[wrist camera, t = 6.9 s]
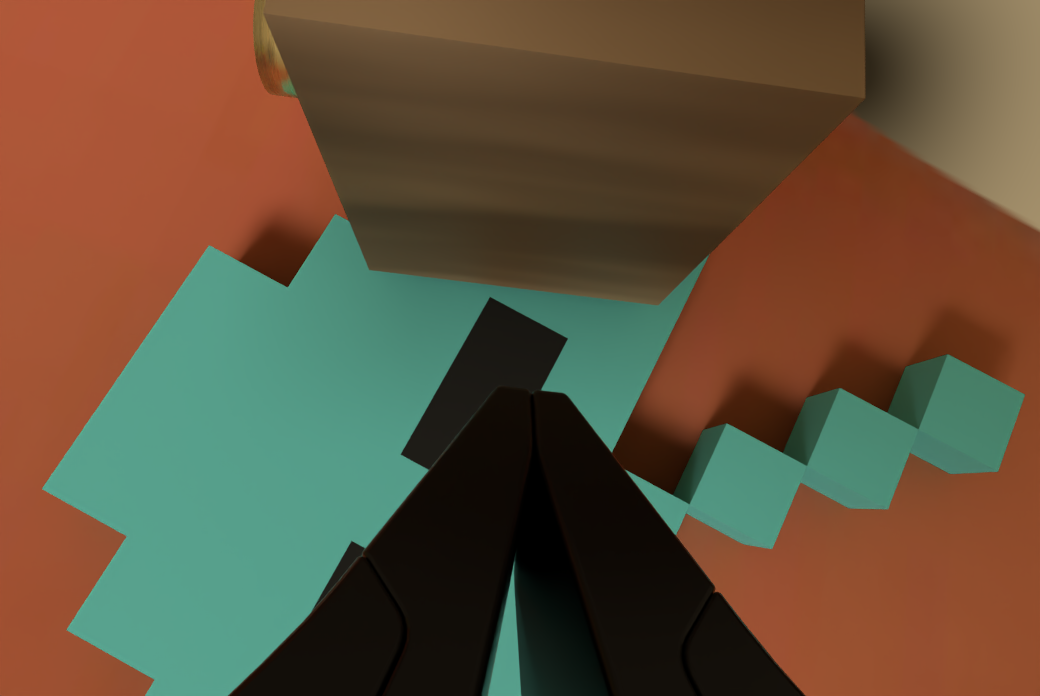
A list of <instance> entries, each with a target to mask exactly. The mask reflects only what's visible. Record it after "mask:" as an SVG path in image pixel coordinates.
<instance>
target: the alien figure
mask: <svg viewBox="0 0 1040 696" xmlns="http://www.w3.org/2000/svg"><path fill="white" fill-rule="evenodd" d="M708 256H709V255H708ZM708 256H707V257H706V258H705V259H704V260H703V261H702V262H701V263H700V264H699V265H698V266H697V267H696V268H695V269H694V270H693V271H692V272H691V273H690V274H689V275H688V276H687V277H686V278H685V279H684V280H683V281H682V282H681V283H680V284H679V285H678V286H677V287H676V288H675V289H674V290H673V291H672V292H671V293H670V294H669V295H668V296H667V297H666V298H665V299H664V300H663V301H662V302H661V303H660V304H659V305H650V304H642V303H634V302H625V301H617V300H609V299H601V298H593V297H585V296H577V295H568V294H560V293H552V292H544V291H536V290H528V289H519V288H511V287H503V286H495V285H487V284H479V283H471V282H462V281H454V280H446V279H438V278H430V277H422V276H413V275H405V274H397V273H389V272H381V271H373V270H369V268H368V266H367V263H366V261H365V259H364V256H363V254H362V251H361V249H360V246H359V244H358V242H357V239H356V237H355V234H354V232H353V230H352V227H351V225H350V222H349V221H347V220H345V219H344V218H342V217H340V216H338V215H336V214H335V215H334V217H333V218H332V220H331V221H330V223H329V225H328V226H327V228H326V229H325V231H324V232H323V234H322V235H321V237H320V238H319V240H318V242H317V243H316V245H315V246H314V248H313V249H312V251H311V252H310V254H309V255H308V257H307V259H306V260H305V262H304V263H303V265H302V266H301V268H300V269H299V271H298V272H297V274H296V276H295V277H294V279H293V280H292V282H291V283H290V285H289V286H288V288H287V287H286V286H284V285H282V284H280V283H278V282H276V281H274V280H273V279H271V278H269V277H267V276H265V275H263V274H261V273H260V272H258V271H256V270H254V269H252V268H250V267H249V266H247V265H245V264H243V263H241V262H239V261H237V260H236V259H234V258H232V257H230V256H228V255H226V254H224V253H223V252H221V251H219V250H217V249H215V248H213V247H211V246H210V245H209V246H208V248H207V249H206V251H205V252H204V254H203V255H202V257H201V258H200V260H199V261H198V262H197V264H196V265H195V267H194V268H193V270H192V271H191V273H190V274H189V276H188V277H187V278H186V280H185V281H184V283H183V284H182V286H181V287H180V289H179V290H178V292H177V293H176V294H175V296H174V297H173V299H172V300H171V302H170V303H169V305H168V306H167V308H166V309H165V310H164V312H163V313H162V315H161V316H160V318H159V319H158V321H157V322H156V324H155V325H154V326H153V328H152V329H151V331H150V332H149V334H148V335H147V337H146V338H145V340H144V341H143V342H142V344H141V345H140V347H139V348H138V350H137V351H136V353H135V354H134V356H133V357H132V358H131V360H130V361H129V363H128V364H127V366H126V367H125V369H124V370H123V372H122V373H121V374H120V376H119V377H118V379H117V380H116V382H115V383H114V385H113V386H112V388H111V389H110V391H109V392H108V393H107V395H106V396H105V398H104V399H103V401H102V402H101V404H100V405H99V407H98V408H97V409H96V411H95V412H94V414H93V415H92V417H91V418H90V420H89V421H88V423H87V424H86V425H85V427H84V428H83V430H82V431H81V433H80V434H79V436H78V437H77V439H76V440H75V441H74V443H73V444H72V446H71V447H70V449H69V450H68V452H67V453H66V455H65V456H64V457H63V459H62V460H61V462H60V463H59V465H58V466H57V468H56V469H55V471H54V472H53V473H52V475H51V476H50V478H49V479H48V481H47V482H46V484H45V485H44V487H43V488H42V489H43V490H45V491H47V492H48V493H50V494H52V495H54V496H56V497H57V498H59V499H61V500H63V501H65V502H66V503H68V504H70V505H72V506H73V507H75V508H77V509H79V510H81V511H82V512H84V513H86V514H88V515H90V516H91V517H93V518H95V519H97V520H99V521H100V522H102V523H104V524H106V525H108V526H109V527H111V528H113V529H115V530H117V531H118V532H120V533H122V534H124V535H126V536H127V537H126V539H125V540H124V542H123V543H122V545H121V546H120V548H119V549H118V551H117V553H116V554H115V556H114V557H113V559H112V560H111V562H110V563H109V565H108V567H107V568H106V570H105V571H104V573H103V574H102V576H101V577H100V579H99V580H98V582H97V584H96V585H95V587H94V588H93V590H92V591H91V593H90V594H89V596H88V597H87V599H86V601H85V602H84V604H83V605H82V607H81V608H80V610H79V611H78V613H77V614H76V616H75V618H74V619H73V621H72V622H71V624H70V625H69V627H68V628H67V631H69V632H71V633H73V634H75V635H76V636H78V637H80V638H82V639H83V640H85V641H87V642H89V643H90V644H92V645H94V646H96V647H98V648H99V649H101V650H103V651H105V652H106V653H108V654H110V655H112V656H114V657H115V658H117V659H119V660H121V661H122V662H124V663H126V664H128V665H130V666H131V667H133V668H135V669H137V670H138V671H140V672H142V673H144V674H145V675H147V676H149V677H151V678H153V679H154V682H153V684H152V685H151V687H150V689H149V690H148V692H147V694H146V695H145V696H228V695H229V694H230V693H231V692H232V691H233V690H234V689H235V688H236V687H237V686H238V685H239V684H240V683H241V682H243V681H244V680H245V679H246V678H247V677H248V676H249V675H250V674H251V673H252V672H253V671H254V670H255V669H256V668H257V667H258V666H259V665H260V664H261V663H262V662H263V661H264V660H265V659H266V658H267V657H268V656H269V655H270V654H271V653H272V652H273V651H274V650H275V649H276V648H277V647H278V646H279V645H280V644H281V643H282V642H283V641H284V640H285V639H286V638H287V637H288V636H289V635H290V634H291V633H292V632H293V631H294V630H295V629H296V628H297V627H298V626H299V625H300V624H301V623H302V622H303V621H304V620H305V619H306V617H307V616H308V615H309V614H310V613H311V612H312V611H313V609H314V608H315V607H316V606H317V605H318V604H319V603H320V601H321V600H322V599H323V598H324V597H325V596H326V595H327V593H328V592H329V591H330V590H331V589H332V588H333V586H334V585H335V584H336V583H337V582H338V581H339V579H340V578H341V577H342V576H343V574H344V573H345V572H346V571H347V570H348V568H349V567H350V566H351V565H352V563H353V562H354V561H355V560H356V558H357V557H359V556H362V552H363V550H364V549H365V548H366V547H367V545H368V544H369V543H370V542H371V540H372V539H373V538H374V537H375V536H376V534H377V533H378V532H379V531H380V529H381V528H382V527H383V526H384V524H385V523H386V522H387V521H388V520H389V518H390V517H391V516H392V515H393V513H394V512H395V511H396V510H397V508H398V507H399V506H400V505H401V504H402V502H403V501H404V500H405V499H406V497H407V496H408V495H409V494H410V492H411V491H412V490H413V489H414V488H415V486H416V485H417V484H418V483H419V481H420V480H421V479H422V478H423V476H424V475H425V474H426V473H427V472H428V470H429V469H430V468H431V467H432V465H433V464H434V463H435V462H436V460H437V459H438V458H439V457H440V456H441V454H442V453H443V452H444V451H445V449H446V448H447V447H448V446H449V444H450V443H451V442H452V441H453V440H454V438H455V437H456V436H457V435H458V433H459V432H460V431H461V430H462V428H463V427H464V426H465V425H466V424H467V422H468V421H469V420H470V419H471V417H472V416H473V415H474V414H475V412H476V411H477V410H478V409H479V408H480V406H481V405H482V404H483V403H484V401H485V400H486V399H487V398H488V396H489V395H490V394H491V393H492V391H493V390H494V389H495V388H496V387H498V386H508V387H516V388H525V389H528V390H529V391H530V393H531V394H532V393H533V391H535V390H542V391H551V392H560V393H565V394H566V395H567V396H568V397H569V398H570V399H571V400H572V402H573V403H574V404H575V406H576V407H577V408H578V409H579V411H580V412H581V413H582V415H583V416H584V417H585V419H586V420H587V421H588V422H589V424H590V425H591V426H592V428H593V429H594V430H595V431H596V433H597V434H598V435H599V437H600V438H601V439H602V441H603V442H604V443H605V444H606V446H607V447H608V448H609V450H610V451H611V452H612V451H613V449H614V447H615V445H616V443H617V441H618V439H619V437H620V435H621V433H622V431H623V429H624V427H625V425H626V423H627V421H628V419H629V417H630V415H631V413H632V411H633V409H634V407H635V405H636V403H637V401H638V399H639V396H640V394H641V392H642V390H643V388H644V386H645V384H646V382H647V380H648V378H649V376H650V374H651V372H652V370H653V368H654V366H655V364H656V362H657V360H658V358H659V356H660V354H661V352H662V350H663V348H664V346H665V344H666V342H667V340H668V338H669V336H670V333H671V331H672V329H673V327H674V325H675V323H676V321H677V319H678V317H679V315H680V313H681V311H682V309H683V307H684V305H685V303H686V301H687V299H688V297H689V295H690V293H691V291H692V289H693V287H694V285H695V283H696V281H697V279H698V277H699V275H700V273H701V271H702V268H703V266H704V264H705V262H706V260H707V258H708ZM1024 396H1025V394H1023V393H1021V392H1019V391H1017V390H1015V389H1013V388H1011V387H1010V386H1008V385H1006V384H1004V383H1002V382H1000V381H998V380H996V379H994V378H992V377H990V376H989V375H987V374H985V373H983V372H981V371H979V370H977V369H975V368H973V367H971V366H970V365H968V364H966V363H964V362H962V361H960V360H958V359H956V358H954V357H952V356H950V355H949V354H946V355H943V356H940V357H936V358H933V359H930V360H926V361H923V362H920V363H916V364H913V365H910V366H906V367H905V370H904V372H903V375H902V377H901V380H900V382H899V385H898V387H897V390H896V392H895V395H894V397H893V400H892V402H891V405H890V407H889V410H888V412H887V413H886V412H885V411H883V410H881V409H879V408H877V407H875V406H873V405H871V404H869V403H868V402H866V401H864V400H862V399H860V398H858V397H856V396H854V395H852V394H851V393H849V392H847V391H845V390H843V389H841V388H838V389H834V390H831V391H828V392H824V393H821V394H817V395H814V396H811V397H807V398H806V400H805V402H804V405H803V407H802V409H801V412H800V414H799V416H798V419H797V421H796V423H795V426H794V428H793V430H792V433H791V435H790V437H789V440H788V442H787V444H786V447H785V449H784V451H783V453H782V452H780V451H778V450H776V449H774V448H772V447H770V446H768V445H767V444H765V443H763V442H761V441H759V440H757V439H755V438H753V437H752V436H750V435H748V434H746V433H744V432H742V431H740V430H738V429H737V428H735V427H733V426H731V425H729V424H727V423H726V424H723V425H719V426H716V427H712V428H709V429H705V430H703V431H702V433H701V435H700V438H699V440H698V442H697V444H696V446H695V448H694V451H693V453H692V455H691V457H690V459H689V461H688V463H687V466H686V468H685V470H684V472H683V474H682V476H681V479H680V481H679V483H678V485H677V487H676V489H675V492H674V494H673V495H671V494H669V493H667V492H666V491H664V490H662V489H660V488H658V487H656V486H654V485H653V484H651V483H649V482H647V481H645V480H643V479H641V478H640V477H638V476H636V475H634V474H632V473H630V472H628V471H627V470H626V472H627V473H628V474H629V476H630V477H631V478H632V479H633V481H634V482H635V483H636V485H637V486H638V487H639V489H640V490H641V491H642V492H643V494H644V495H645V496H646V498H647V499H648V500H649V501H650V503H651V504H652V505H653V507H654V508H655V509H656V511H657V512H658V513H659V514H660V516H661V517H662V518H663V520H664V521H665V522H666V523H667V525H668V526H669V527H670V529H671V530H672V531H673V533H674V534H675V535H676V534H677V531H678V529H679V527H680V525H681V523H682V520H683V518H684V516H685V514H688V515H690V516H692V517H694V518H696V519H697V520H699V521H701V522H703V523H705V524H707V525H709V526H710V527H712V528H714V529H716V530H718V531H720V532H722V533H723V534H725V535H727V536H729V537H731V538H733V539H734V540H736V541H738V542H740V543H742V544H745V545H751V546H757V547H763V548H769V549H772V548H773V546H774V544H775V541H776V539H777V536H778V534H779V532H780V529H781V527H782V524H783V522H784V520H785V517H786V515H787V513H788V510H789V508H790V505H791V503H792V501H793V498H794V496H795V494H796V491H797V489H798V486H799V484H800V482H801V483H803V484H805V485H806V486H808V487H810V488H812V489H814V490H816V491H818V492H820V493H821V494H823V495H825V496H827V497H829V498H831V499H833V500H834V501H836V502H838V503H840V504H842V505H844V506H846V507H848V508H855V509H888V508H889V505H890V503H891V500H892V497H893V495H894V492H895V490H896V487H897V484H898V482H899V479H900V477H901V474H902V471H903V469H904V466H905V464H906V461H907V459H908V456H909V453H912V454H914V455H915V456H917V457H919V458H921V459H923V460H925V461H927V462H929V463H931V464H932V465H934V466H936V467H938V468H940V469H942V470H944V471H946V472H947V473H949V474H960V473H980V472H998V470H999V467H1000V465H1001V462H1002V459H1003V456H1004V453H1005V450H1006V448H1007V445H1008V442H1009V439H1010V436H1011V433H1012V430H1013V428H1014V425H1015V422H1016V419H1017V416H1018V413H1019V411H1020V408H1021V405H1022V402H1023V399H1024ZM488 696H521V686H520V670H519V654H518V638H517V622H516V606H515V590H514V565H513V571H512V576H511V582H510V587H509V592H508V597H507V602H506V607H505V612H504V617H503V622H502V627H501V632H500V637H499V642H498V647H497V653H496V658H495V663H494V668H493V673H492V678H491V683H490V688H489V693H488Z"/></svg>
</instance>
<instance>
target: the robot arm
mask: <svg viewBox="0 0 1040 696" xmlns="http://www.w3.org/2000/svg"><path fill="white" fill-rule="evenodd" d="M513 565H514V590H515V606H516V622H517V638H518V654H519V670H520V686H521V696H805V695H804V693H803V692H802V691H801V690H800V689H799V688H798V687H797V686H796V685H795V683H794V682H793V681H792V680H791V679H790V678H789V677H788V676H787V674H786V673H785V672H784V671H783V670H782V669H781V668H780V667H779V666H778V664H777V663H776V662H775V661H774V659H773V658H772V657H771V656H770V655H769V653H768V652H767V651H766V650H765V648H764V647H763V646H762V645H761V644H760V642H759V641H758V640H757V639H756V637H755V636H754V635H753V634H752V632H751V631H750V630H749V629H748V628H747V626H746V625H745V624H744V623H743V621H742V620H741V619H740V618H739V616H738V615H737V614H736V612H735V611H734V610H733V609H732V607H731V606H730V605H729V603H728V602H727V601H726V599H725V598H724V597H723V596H722V594H721V593H719V592H715V586H714V584H713V583H712V582H711V581H710V579H709V578H708V577H707V575H706V574H705V573H704V571H703V570H702V569H701V568H700V566H699V565H698V564H697V562H696V561H695V560H694V558H693V557H692V556H691V555H690V553H689V552H688V551H687V549H686V548H685V547H684V546H683V544H682V543H681V542H680V540H679V539H678V538H677V536H676V535H675V534H674V533H673V531H672V530H671V529H670V527H669V526H668V525H667V523H666V522H665V521H664V520H663V518H662V517H661V516H660V514H659V513H658V512H657V511H656V509H655V508H654V507H653V505H652V504H651V503H650V501H649V500H648V499H647V498H646V496H645V495H644V494H643V492H642V491H641V490H640V489H639V487H638V486H637V485H636V483H635V482H634V481H633V479H632V478H631V477H630V476H629V474H628V473H627V472H626V470H625V469H624V468H623V466H622V465H621V464H620V463H619V461H618V460H617V459H616V457H615V456H614V455H613V454H612V452H611V451H610V450H609V448H608V447H607V446H606V444H605V443H604V442H603V441H602V439H601V438H600V437H599V435H598V434H597V433H596V431H595V430H594V429H593V428H592V426H591V425H590V424H589V422H588V421H587V420H586V419H585V417H584V416H583V415H582V413H581V412H580V411H579V409H578V408H577V407H576V406H575V404H574V403H573V402H572V400H571V399H570V398H569V397H568V396H567V395H566V394H565V393H560V392H551V391H542V390H535V391H533V393H532V394H531V393H530V391H529V390H528V389H525V388H516V387H508V386H498V387H496V388H495V389H494V390H493V391H492V393H491V394H490V395H489V396H488V398H487V399H486V400H485V401H484V403H483V404H482V405H481V406H480V408H479V409H478V410H477V411H476V412H475V414H474V415H473V416H472V417H471V419H470V420H469V421H468V422H467V424H466V425H465V426H464V427H463V428H462V430H461V431H460V432H459V433H458V435H457V436H456V437H455V438H454V440H453V441H452V442H451V443H450V444H449V446H448V447H447V448H446V449H445V451H444V452H443V453H442V454H441V456H440V457H439V458H438V459H437V460H436V462H435V463H434V464H433V465H432V467H431V468H430V469H429V470H428V472H427V473H426V474H425V475H424V476H423V478H422V479H421V480H420V481H419V483H418V484H417V485H416V486H415V488H414V489H413V490H412V491H411V492H410V494H409V495H408V496H407V497H406V499H405V500H404V501H403V502H402V504H401V505H400V506H399V507H398V508H397V510H396V511H395V512H394V513H393V515H392V516H391V517H390V518H389V520H388V521H387V522H386V523H385V524H384V526H383V527H382V528H381V529H380V531H379V532H378V533H377V534H376V536H375V537H374V538H373V539H372V540H371V542H370V543H369V544H368V545H367V547H366V548H365V549H364V550H363V552H362V556H359V557H357V558H356V560H355V561H354V562H353V563H352V565H351V566H350V567H349V568H348V570H347V571H346V572H345V573H344V574H343V576H342V577H341V578H340V579H339V581H338V582H337V583H336V584H335V585H334V586H333V588H332V589H331V590H330V591H329V592H328V593H327V595H326V596H325V597H324V598H323V599H322V600H321V601H320V603H319V604H318V605H317V606H316V607H315V608H314V609H313V611H312V612H311V613H310V614H309V615H308V616H307V617H306V619H305V620H304V621H303V622H302V623H301V624H300V625H299V626H298V627H297V628H296V629H295V630H294V631H293V632H292V633H291V634H290V635H289V636H288V637H287V638H286V639H285V640H284V641H283V642H282V643H281V644H280V645H279V646H278V647H277V648H276V649H275V650H274V651H273V652H272V653H271V654H270V655H269V656H268V657H267V658H266V659H265V660H264V661H263V662H262V663H261V664H260V665H259V666H258V667H257V668H256V669H255V670H254V671H253V672H252V673H251V674H250V675H249V676H248V677H247V678H246V679H245V680H244V681H243V682H241V683H240V684H239V685H238V686H237V687H236V688H235V689H234V690H233V691H232V692H231V693H230V694H229V695H228V696H488V693H489V688H490V683H491V678H492V673H493V668H494V663H495V658H496V653H497V647H498V642H499V637H500V632H501V627H502V622H503V617H504V612H505V607H506V602H507V597H508V592H509V587H510V582H511V576H512V571H513ZM714 592H715V593H714Z"/></svg>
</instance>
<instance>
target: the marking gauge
mask: <svg viewBox="0 0 1040 696" xmlns="http://www.w3.org/2000/svg"><path fill="white" fill-rule="evenodd" d="M253 35H254V49H255V57H256V63H257V68H258V72H259V75H260V78H261V81H262V83H263V85H264V87H265V89H266V90H267V92H269V93H270V94H272V95H278V96H286V97H293V98H298V99H299V101H300V104H301V106H302V109H303V111H304V114H305V116H306V118H307V121H308V123H309V126H310V128H311V130H312V133H313V135H314V138H315V140H316V143H317V145H318V147H319V150H320V152H321V155H322V157H323V159H324V162H325V164H326V167H327V169H328V172H329V174H330V176H331V179H332V181H333V184H334V186H335V188H336V191H337V193H338V196H339V198H340V201H341V203H342V205H343V208H344V210H345V213H346V215H347V217H348V220H349V222H350V225H351V227H352V230H353V232H354V234H355V237H356V239H357V242H358V244H359V246H360V249H361V251H362V254H363V256H364V259H365V261H366V263H367V266H368V268H369V270H373V271H381V272H389V273H397V274H405V275H413V276H422V277H430V278H438V279H446V280H454V281H462V282H471V283H479V284H487V285H495V286H503V287H511V288H519V289H528V290H536V291H544V292H552V293H560V294H568V295H577V296H585V297H593V298H601V299H609V300H617V301H625V302H634V303H642V304H650V305H659V304H660V303H661V302H662V301H663V300H664V299H665V298H666V297H667V296H668V295H669V294H670V293H671V292H672V291H673V290H674V289H675V288H676V287H677V286H678V285H679V284H680V283H681V282H682V281H683V280H684V279H685V278H686V277H687V276H688V275H689V274H690V273H691V272H692V271H693V270H694V269H695V268H696V267H697V266H698V265H699V264H700V263H701V262H702V261H703V260H704V259H705V258H706V257H707V256H708V255H709V254H710V253H711V252H712V251H713V250H714V249H715V248H716V247H717V246H718V245H719V244H720V243H721V242H722V241H723V240H724V239H725V238H726V237H727V236H728V235H729V234H730V233H731V232H732V231H733V230H734V229H735V228H736V227H737V226H738V225H739V224H740V223H741V222H742V221H743V220H744V219H745V218H746V217H747V216H748V215H749V214H750V213H751V212H752V211H753V210H754V209H755V208H756V207H757V206H758V205H759V204H760V203H761V202H762V201H763V200H764V199H765V198H766V197H767V196H768V195H769V194H770V193H771V192H772V191H773V190H774V189H775V188H776V187H777V186H778V185H779V184H780V183H781V182H782V181H783V180H784V179H785V178H786V177H787V176H788V175H789V174H790V173H791V172H792V171H793V170H794V169H795V168H796V167H797V166H798V165H799V164H800V163H801V162H802V161H803V160H804V159H805V158H806V157H807V156H808V155H809V154H810V153H811V152H812V151H813V150H814V149H815V148H816V147H817V146H818V145H819V144H820V143H821V142H822V141H823V140H824V139H825V138H826V137H827V136H828V135H829V134H830V133H831V132H832V131H833V130H834V129H835V128H836V127H837V126H838V125H839V124H840V123H841V122H842V121H843V120H844V119H845V118H846V117H847V116H848V115H849V114H850V113H851V112H852V111H853V110H854V109H855V108H856V107H857V106H858V105H859V104H860V103H861V102H862V101H863V100H864V99H865V0H255V4H254V19H253Z"/></svg>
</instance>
